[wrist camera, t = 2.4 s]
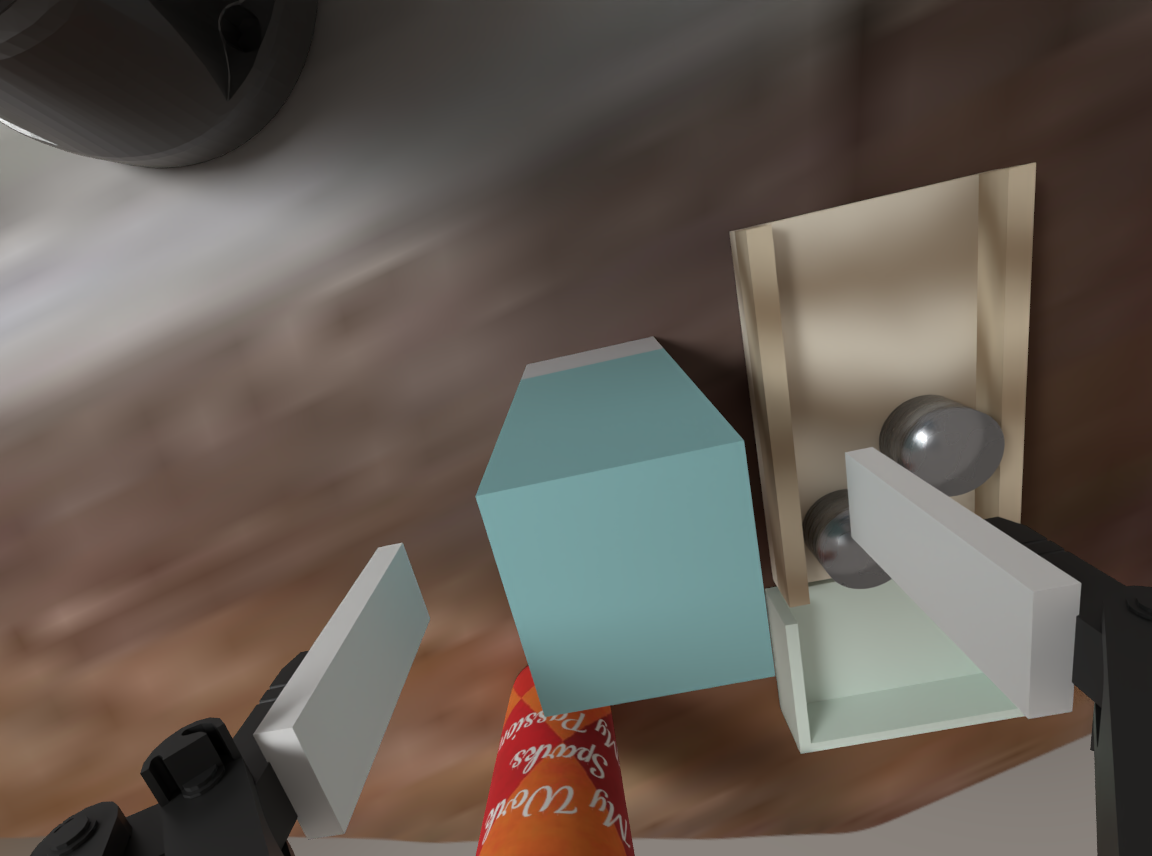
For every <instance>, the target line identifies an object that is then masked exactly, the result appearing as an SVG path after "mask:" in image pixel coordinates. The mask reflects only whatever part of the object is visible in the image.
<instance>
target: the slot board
mask: <svg viewBox="0 0 1152 856" xmlns="http://www.w3.org/2000/svg"><path fill="white" fill-rule="evenodd" d="M1035 177H1036V162H1035V163H1030V164H1024V165H1019V166H1013V167H1008V168H1002V169H996V170H991V171H986V172H982V173H978V174H973V175H969V176H965V177H961V178H956V179H952V180H948V181H944V182H939V183H935V184H931V185H926V186H922V187H918V188H914V189H909V190H905V191H901V192H897V193H892V194H888V195H884V196H880V197H875V198H871V199H867V200H862V201H858V202H854V203H850V204H845V205H841V206H837V207H833V208H828V209H824V210H820V211H815V212H811V213H807V214H803V215H798V216H794V217H790V218H786V219H781V220H777V221H773V222H769V223H764V224H760V225H756V226H751V227H747V228H743V229H739V230H734V231H730V232H729V234H730V242H731V250H732V258H733V266H734V273H735V281H736V289H737V297H738V305H739V313H740V321H741V329H742V337H743V345H744V353H745V361H746V369H747V377H748V385H749V393H750V401H751V409H752V417H753V425H754V433H755V441H756V448H757V456H758V464H759V472H760V480H761V488H762V496H763V504H764V512H765V520H766V528H767V536H768V544H769V552H770V560H771V568H772V576H773V580H774V582H775V584H776V585H777V587H778V589H779V590H780V592H781V594H782V595H783V597H784V599H785V600H786V602H787V604H788V605H789V607H790V608H791V607H796V606H801V605H807V604H810V598H809V588H808V583H809V582H814V581H819V580H825V579H830V578H831V577H830V576H829V574H828V573H827V572H826V570H825V569H824V568H823V567H822V565H821V564H820V563H819V561H818V560H817V559H816V557H815V556H814V555H813V554H812V552H811V551H810V550H809V548H808V547H807V546H806V544H805V542H804V539H803V529H802V524H803V520H804V517H805V515H806V513H807V511H808V510H809V509H810V507H811V506H812V505H813V504H814V503H815V502H816V501H817V500H818V499H820V498H821V497H823V496H824V495H826V494H828V493H831V492H833V491H837V490H842V489H848V487H847V474H846V461H845V452H850V451H854V450H859V449H864V448H869V447H873V448H875V449H876V450H878V451H879V452H880V449H879V436H880V432H881V428H882V426H883V424H884V422H885V420H886V419H887V417H888V416H889V415H890V414H891V413H892V411H893V410H894V409H896V408H897V407H898V406H899V405H901V404H902V403H904V402H905V401H907V400H909V399H912V398H914V397H917V396H921V395H939V396H943V397H945V398H948V399H950V400H953V401H955V402H958V403H960V404H963V405H965V406H968V407H970V408H972V409H975V410H977V411H980V412H982V413H985V414H987V415H989V416H990V417H992V418H993V419H994V420H995V421H996V422H997V423H998V424H999V426H1000V427H1001V429H1002V432H1003V435H1004V440H1005V447H1004V453H1003V457H1002V460H1001V462H1000V464H999V466H998V468H997V469H996V471H995V472H994V473H993V474H992V476H991V477H990V478H989V479H988V480H987V481H986V482H984V483H983V484H982V485H981V486H979V487H977V488H976V489H974V490H972V491H970V492H968V493H965V494H962V495H958V496H952V497H950V498H951V499H953V500H955V501H956V502H958V503H959V504H961V505H962V506H964V507H965V508H967V509H968V510H970V511H971V512H973V513H974V514H976V515H978V516H979V517H981V518H982V519H988V518H993V517H1001V518H1004V519H1007V520H1010V521H1013V522H1016V523H1019V524H1020V520H1021V497H1022V475H1023V452H1024V429H1025V406H1026V383H1027V360H1028V337H1029V315H1030V292H1031V269H1032V246H1033V223H1034V200H1035Z"/></svg>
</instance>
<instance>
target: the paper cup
mask: <svg viewBox="0 0 1152 856" xmlns="http://www.w3.org/2000/svg"><path fill="white" fill-rule="evenodd" d="M476 856H635V855H634V849H633V843H632V837H631V831H630V825H629V819H628V813H627V808H626V802H625V796H624V789H623V783H622V776H621V770H620V763H619V757H618V750H617V744H616V737H615V731H614V725H613V718H612V713H611V707H610V706H605V707H599V708H593V709H588V710H582V711H577V712H571V713H565V714H560V715H554V716H549V717H545V716H544V713H543V710H542V707H541V704H540V700H539V697H538V694H537V691H536V688H535V684H534V681H533V678H532V675H531V672H530V668H529V665H528V666H526V667H525V668H524V669H523V670H522V671H521V672H520V674H519V675H518V676H517V678H516V680H515V683H514V685H513V689H512V692H511V696H510V700H509V704H508V709H507V713H506V717H505V722H504V726H503V731H502V735H501V740H500V744H499V749H498V754H497V758H496V763H495V768H494V772H493V777H492V782H491V786H490V791H489V796H488V800H487V805H486V810H485V815H484V819H483V824H482V829H481V833H480V838H479V843H478V848H477V852H476Z"/></svg>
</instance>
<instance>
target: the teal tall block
mask: <svg viewBox="0 0 1152 856" xmlns="http://www.w3.org/2000/svg"><path fill="white" fill-rule="evenodd" d="M476 499H477V503H478V506H479V509H480V512H481V515H482V519H483V522H484V525H485V528H486V531H487V534H488V538H489V541H490V544H491V547H492V550H493V554H494V557H495V560H496V563H497V566H498V570H499V573H500V576H501V579H502V582H503V586H504V589H505V592H506V595H507V598H508V601H509V605H510V608H511V611H512V614H513V617H514V621H515V624H516V627H517V630H518V633H519V637H520V640H521V643H522V646H523V649H524V653H525V656H526V659H527V662H528V665H529V668H530V672H531V675H532V678H533V681H534V684H535V688H536V691H537V694H538V697H539V700H540V704H541V707H542V710H543V713H544V716H545V717H549V716H554V715H560V714H565V713H571V712H577V711H582V710H588V709H593V708H599V707H605V706H610V705H616V704H621V703H627V702H633V701H638V700H644V699H649V698H655V697H661V696H666V695H672V694H677V693H683V692H689V691H694V690H700V689H705V688H711V687H717V686H722V685H728V684H733V683H739V682H745V681H750V680H756V679H761V678H767V677H773V676H775V670H774V662H773V655H772V647H771V640H770V632H769V625H768V617H767V610H766V602H765V595H764V587H763V580H762V572H761V565H760V557H759V550H758V542H757V535H756V527H755V520H754V512H753V505H752V497H751V489H750V482H749V474H748V467H747V459H746V452H745V444H744V440H743V439H742V438H741V436H740V435H739V434H738V433H737V432H736V431H735V430H734V428H733V427H732V426H731V425H730V424H729V423H728V422H727V420H726V419H725V418H724V417H723V416H722V415H721V414H720V412H719V411H718V410H717V409H716V408H715V407H714V406H713V404H712V403H711V402H710V401H709V400H708V399H707V397H706V396H705V395H704V394H703V393H702V392H701V391H700V389H699V388H698V387H697V386H696V385H695V384H694V383H693V381H692V380H691V379H690V378H689V377H688V376H687V375H686V373H685V372H684V371H683V370H682V369H681V368H680V367H679V365H678V364H677V363H676V362H675V361H674V360H673V359H672V357H671V356H670V355H669V354H668V353H667V352H666V351H665V349H664V348H663V347H662V346H661V345H660V344H659V342H658V341H657V340H656V339H655V338H654V337H649V338H644V339H640V340H635V341H631V342H626V343H622V344H617V345H613V346H608V347H604V348H599V349H595V350H590V351H586V352H582V353H577V354H573V355H568V356H564V357H559V358H555V359H550V360H546V361H541V362H537V363H532V364H528V365H527V366H526V368H525V371H524V373H523V376H522V378H521V381H520V384H519V386H518V389H517V391H516V394H515V396H514V399H513V402H512V404H511V407H510V409H509V412H508V414H507V417H506V420H505V422H504V425H503V427H502V430H501V432H500V435H499V437H498V440H497V443H496V445H495V448H494V450H493V453H492V455H491V458H490V461H489V463H488V466H487V468H486V471H485V473H484V476H483V478H482V481H481V484H480V486H479V489H478V491H477V494H476Z"/></svg>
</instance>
